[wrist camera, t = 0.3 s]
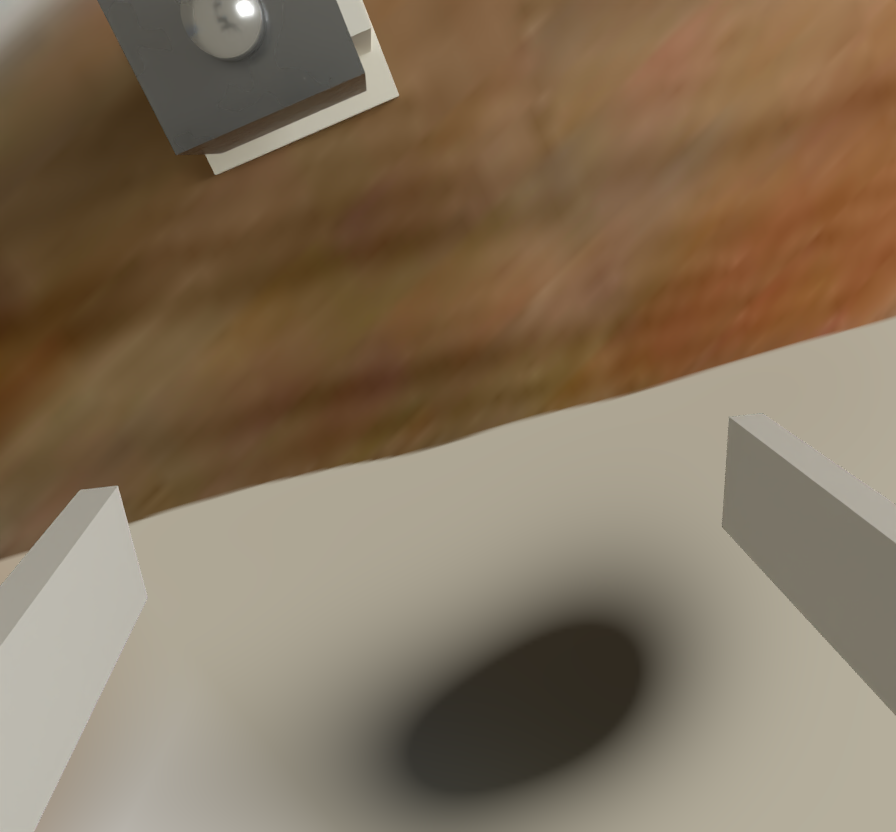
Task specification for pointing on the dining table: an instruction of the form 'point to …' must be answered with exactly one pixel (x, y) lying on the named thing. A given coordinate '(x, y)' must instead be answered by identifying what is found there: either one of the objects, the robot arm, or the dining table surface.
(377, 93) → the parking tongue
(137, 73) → the grey cube with knob
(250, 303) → the dining table surface
